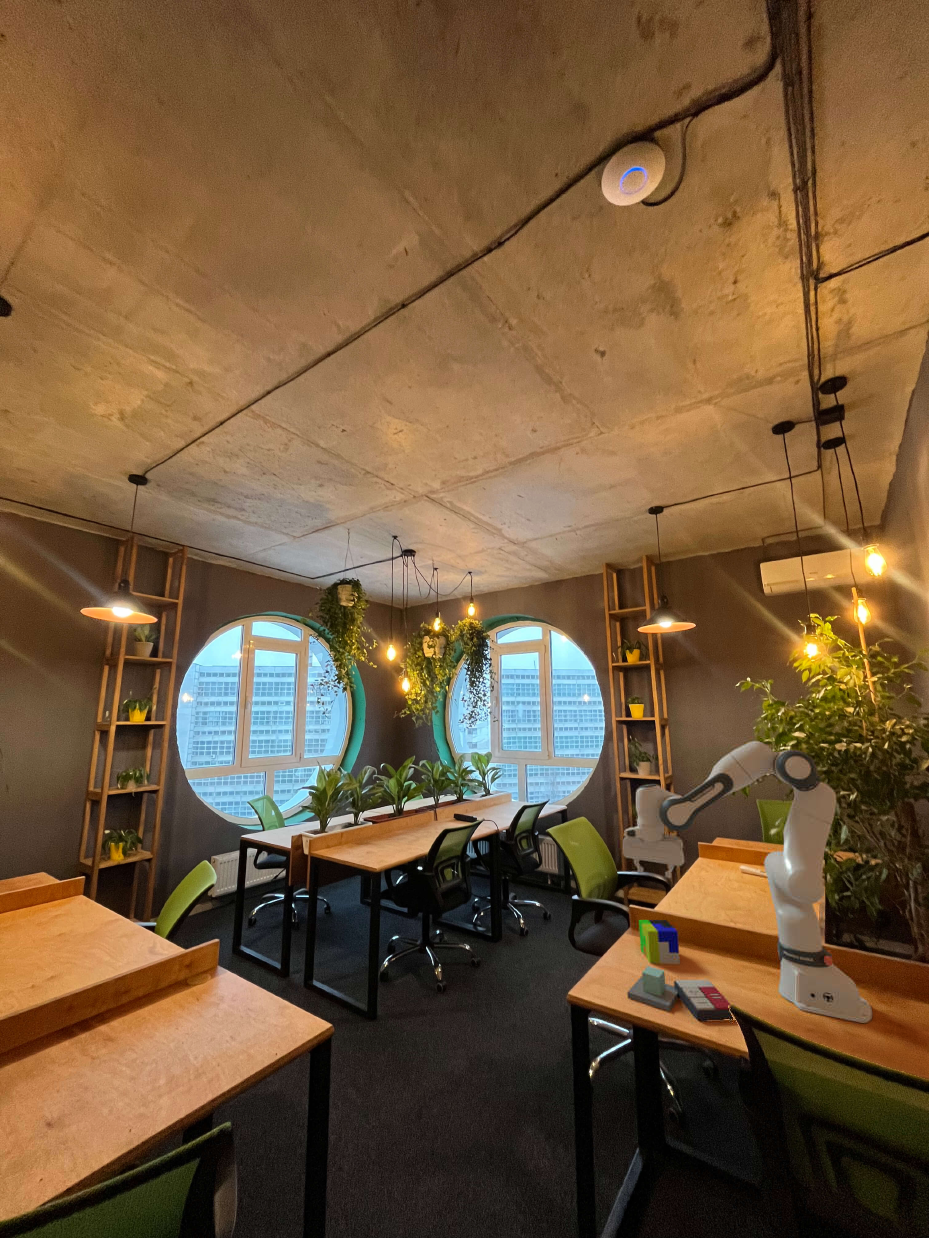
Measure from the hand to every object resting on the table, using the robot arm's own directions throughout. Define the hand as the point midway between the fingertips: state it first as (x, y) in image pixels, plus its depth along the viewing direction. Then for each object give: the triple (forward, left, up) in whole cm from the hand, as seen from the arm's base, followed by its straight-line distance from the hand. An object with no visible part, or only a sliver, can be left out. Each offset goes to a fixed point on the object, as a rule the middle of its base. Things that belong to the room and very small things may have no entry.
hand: (654, 875), depth 174 cm
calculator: (-17, +15, -29) cm, 37 cm away
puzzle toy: (+3, -8, -29) cm, 30 cm away
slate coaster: (-4, +19, -29) cm, 34 cm away
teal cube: (-4, +19, -27) cm, 33 cm away
